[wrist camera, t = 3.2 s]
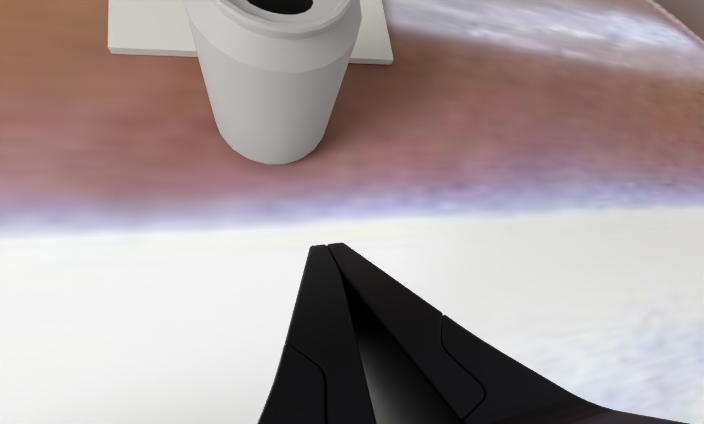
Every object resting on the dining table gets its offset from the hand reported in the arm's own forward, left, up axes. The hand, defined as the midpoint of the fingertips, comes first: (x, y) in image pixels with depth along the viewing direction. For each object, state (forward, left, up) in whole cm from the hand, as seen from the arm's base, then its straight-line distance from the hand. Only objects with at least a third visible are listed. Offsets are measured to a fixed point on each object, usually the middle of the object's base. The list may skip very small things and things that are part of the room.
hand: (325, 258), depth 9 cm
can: (+3, -11, -14) cm, 18 cm away
